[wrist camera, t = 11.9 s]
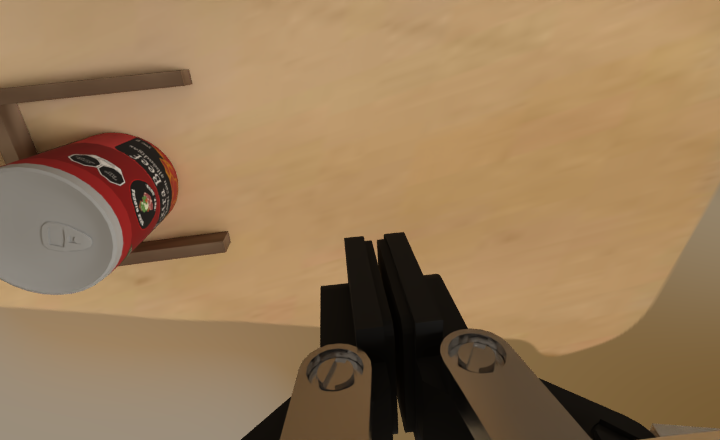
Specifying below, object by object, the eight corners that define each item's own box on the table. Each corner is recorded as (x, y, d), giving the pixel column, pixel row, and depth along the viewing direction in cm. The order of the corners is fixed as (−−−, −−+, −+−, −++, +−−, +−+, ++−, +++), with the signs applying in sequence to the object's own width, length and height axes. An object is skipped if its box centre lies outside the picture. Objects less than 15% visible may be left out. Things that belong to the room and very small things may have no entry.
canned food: (190, 220, 33) (133, 290, 23) (91, 227, 33) (-13, 302, 23) (170, 127, 30) (95, 161, 20) (60, 133, 30) (-74, 171, 20)
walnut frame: (-5, 89, 28) (-27, 91, 26) (188, 69, 29) (180, 70, 27) (69, 262, 34) (54, 274, 32) (230, 241, 34) (225, 252, 33)
